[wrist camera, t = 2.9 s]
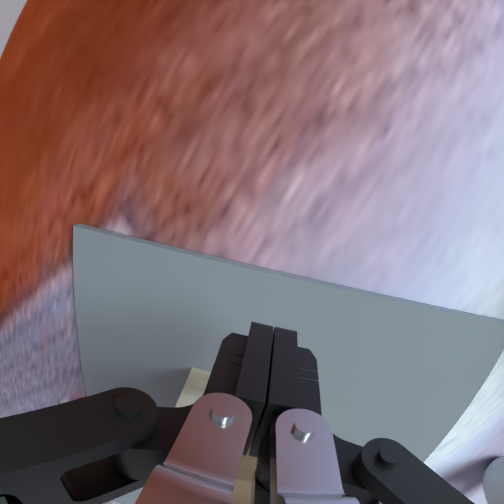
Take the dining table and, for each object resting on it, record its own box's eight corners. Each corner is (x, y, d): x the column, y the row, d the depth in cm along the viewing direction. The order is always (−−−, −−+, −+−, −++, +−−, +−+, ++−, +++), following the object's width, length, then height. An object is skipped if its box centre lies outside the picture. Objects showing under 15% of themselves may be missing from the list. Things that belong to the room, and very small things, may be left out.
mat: (78, 223, 14) (73, 225, 14) (511, 321, 13) (515, 325, 13) (115, 497, 24) (114, 501, 23) (331, 540, 23) (331, 543, 22)
